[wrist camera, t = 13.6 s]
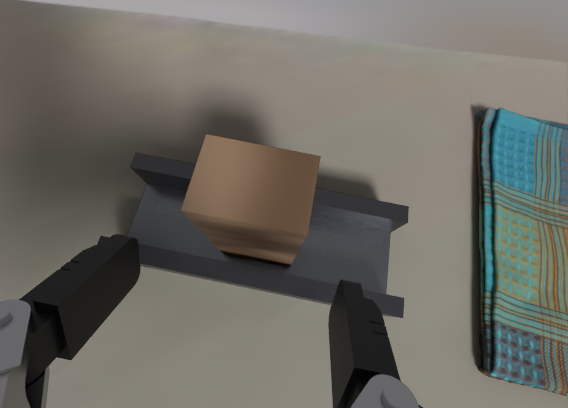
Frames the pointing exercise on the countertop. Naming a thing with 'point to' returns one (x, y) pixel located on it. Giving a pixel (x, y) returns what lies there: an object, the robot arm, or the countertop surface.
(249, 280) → the floor track
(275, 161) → the tan wooden pillar block
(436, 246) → the countertop surface
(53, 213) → the countertop surface
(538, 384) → the dish towel
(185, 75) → the countertop surface
